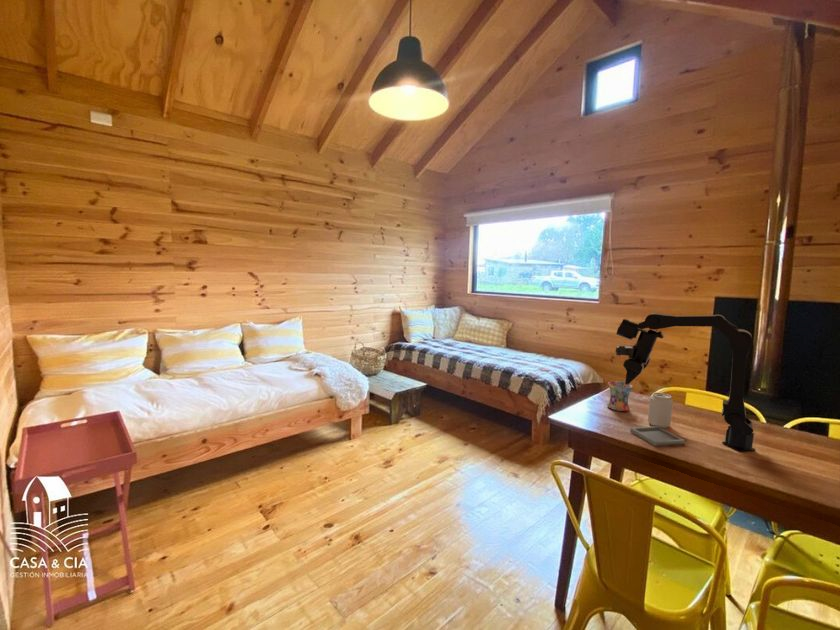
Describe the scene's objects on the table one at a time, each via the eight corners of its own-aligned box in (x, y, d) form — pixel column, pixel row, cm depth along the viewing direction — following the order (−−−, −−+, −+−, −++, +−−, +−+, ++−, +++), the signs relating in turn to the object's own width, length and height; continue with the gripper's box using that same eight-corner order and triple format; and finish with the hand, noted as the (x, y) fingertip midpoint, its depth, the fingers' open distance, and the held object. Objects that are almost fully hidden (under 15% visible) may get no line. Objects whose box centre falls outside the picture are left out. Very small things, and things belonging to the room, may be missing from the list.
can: (661, 420, 152) (664, 391, 150) (674, 429, 144) (678, 398, 143) (642, 420, 151) (646, 391, 149) (655, 429, 144) (659, 398, 142)
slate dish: (684, 444, 131) (685, 440, 131) (655, 446, 129) (655, 442, 129) (657, 430, 143) (658, 426, 142) (630, 431, 140) (630, 427, 140)
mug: (625, 414, 157) (628, 389, 156) (602, 408, 164) (604, 383, 162) (635, 407, 165) (638, 383, 164) (613, 401, 172) (615, 378, 171)
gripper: (627, 333, 157) (613, 367, 162) (616, 339, 143) (601, 377, 147) (657, 344, 151) (642, 379, 156) (649, 351, 137) (632, 390, 141)
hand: (629, 381), depth 150 cm, fingers open, 9 cm apart
